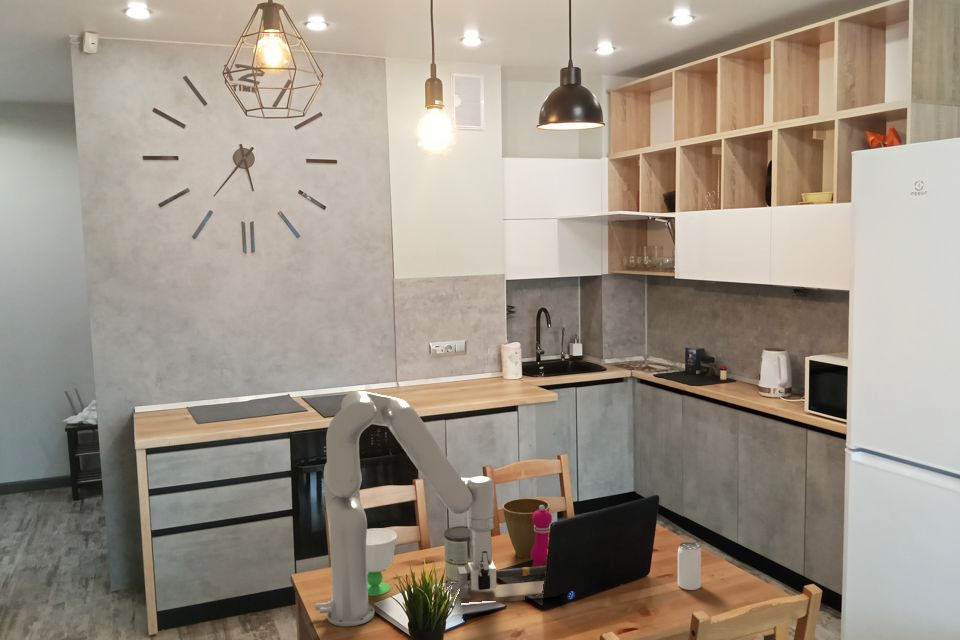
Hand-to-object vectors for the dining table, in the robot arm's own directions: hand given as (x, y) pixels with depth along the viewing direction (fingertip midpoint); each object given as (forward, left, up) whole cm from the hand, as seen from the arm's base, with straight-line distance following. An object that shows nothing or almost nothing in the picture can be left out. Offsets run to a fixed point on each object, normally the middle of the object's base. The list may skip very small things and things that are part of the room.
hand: (482, 583), depth 225 cm
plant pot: (+19, +29, -4) cm, 35 cm away
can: (+59, -5, -4) cm, 60 cm away
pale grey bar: (+7, 0, -4) cm, 8 cm away
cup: (-30, +12, -4) cm, 32 cm away
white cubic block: (0, 0, 0) cm, 0 cm away
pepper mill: (+21, +16, -4) cm, 27 cm away
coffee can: (-4, +15, -4) cm, 16 cm away
